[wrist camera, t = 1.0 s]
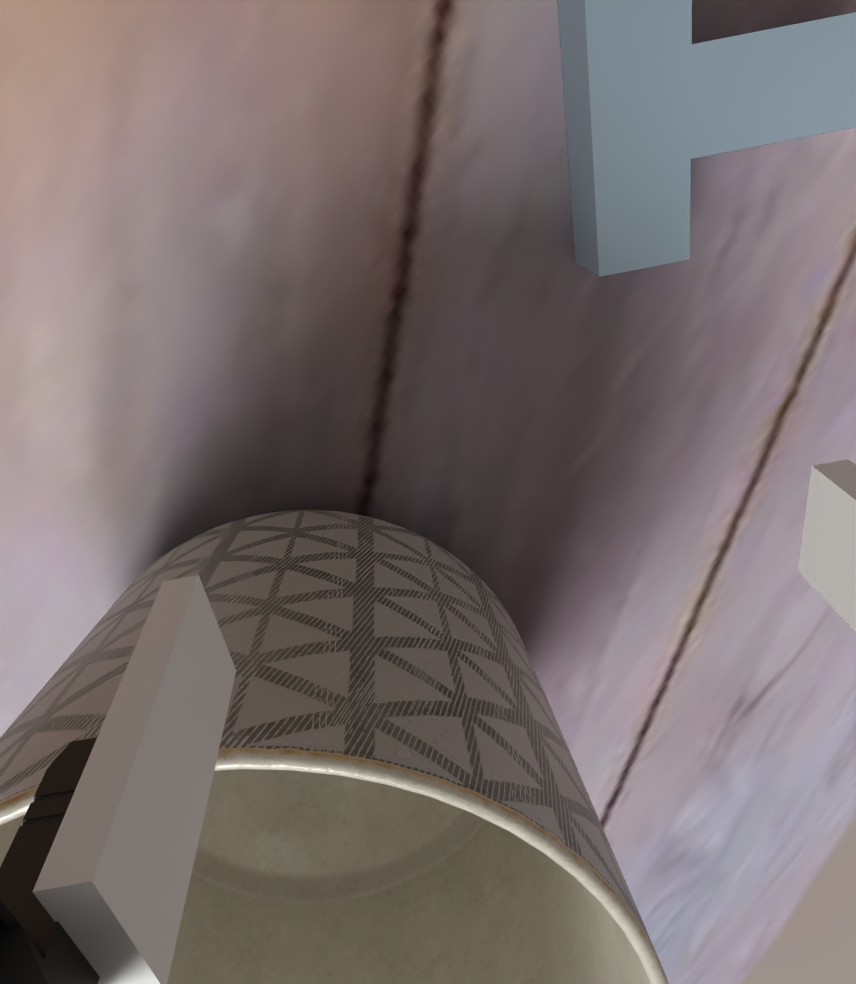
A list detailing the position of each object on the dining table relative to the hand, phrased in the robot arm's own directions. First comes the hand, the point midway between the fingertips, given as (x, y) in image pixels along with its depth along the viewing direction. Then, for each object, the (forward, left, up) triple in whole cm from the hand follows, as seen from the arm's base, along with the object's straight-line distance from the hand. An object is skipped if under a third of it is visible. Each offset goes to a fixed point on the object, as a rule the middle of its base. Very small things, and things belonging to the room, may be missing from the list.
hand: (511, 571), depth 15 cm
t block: (-8, +14, -22) cm, 27 cm away
